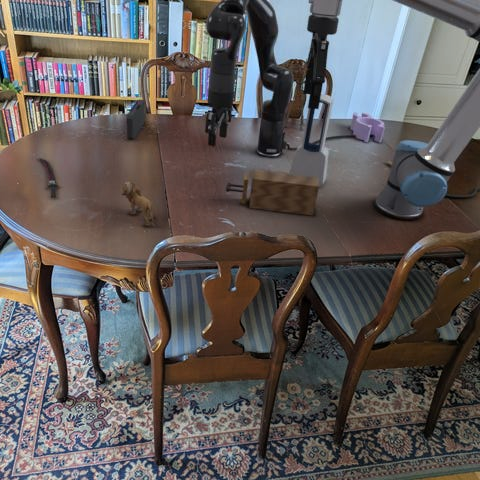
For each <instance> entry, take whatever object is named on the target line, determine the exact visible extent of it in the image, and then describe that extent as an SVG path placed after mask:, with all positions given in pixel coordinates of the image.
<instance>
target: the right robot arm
mask: <svg viewBox="0 0 480 480" xmlns="http://www.w3.org/2000/svg"><path fill="white" fill-rule="evenodd" d="M392 1H393V2H395V3H398V4H400V5H403V6H405V7H407V8H410V9H412V10H414V11H417V12H419V13H421V14H424V15H426V16H429V17H431V18H434V19H436V20H439V21H440V22H441V21H442V22H444V23H446V24H448V25H451V26H453V27H456V28H458V29H461V30H463V31H464V33H465V36H466V37H468V38H470V39H473V40H475V41H477V42H478V43H480V0H392ZM308 4H310V6H309V13H310V14H309V16H308V18H307V19H308V20H307V26H306V30H307V32H308V33H311V35H312V37H311V40H310V47H309V52H308V56H307V65H306V71H305V77H304V81H305V84H303V95H309V98H308V104H307V109H308V108H311V109H315V110H319V108H320V97H321V94H322V90H323V85H324V83H325V82H326V73H327V72H326V71H327V62H328V53H329V46H330V41H329V40H328V36H330V35H331V36H333V35H336V34H337V32H338V26H339V21H340V19H339V16H340V15H341V12H342V11H341V10H342V6H343V0H308ZM479 129H480V68H479V69H478V70H477V72H476V73H475V75H474V76H473V77H472V79H471V80H470V82H469V83H468V85H467V87H466V88H465V89H464V91H463V92H462V94H461V95H460V96H459V98H458V100H457V101H456V103H455V104H454V105H453V107H452V108H451V110H450V111H449V113H448V115H446V117H445V119H444V120H443V122H442V123H441V125H440V126H439V128H438V129H437V131H436V132H435V133H434V135H433V136H432V138H431V140H430V141H429V142H428V143H427V142H423V141H418V140H409V139H408V140H401V141H399V142H398V144H397V147H396V149H395V152H394V156H393V160H392V166H390V170H389V174H388V177H387V180H386V184H384V186H383V188H381V189H380V191H379V194H378V195H377V197H376V199H375V202H374V207H375V208H376V209H377V210H378V211H379V212H380V213H381V214H383V215H385V216H386V217H390V218H393V219H396V220H401V221H414V220H417V219H419V218H421V217H422V215H423V212H424V208H426V207H429V206H430V207H431V206H434V205H436V204H438V203H439V202H440V201H442V200H443V199H444V198H445V197H446V198H451V199H468V198H469V199H470V198H472V197H474V196H475V195H476V194H477V192H478V191H479V187H478V186H476V187H475V188H474V189H473V192H472V193H470V194H463V195H462V194H449V193H447V191H448V181H449V180H450V178H451V177H452V176H453V174H454V173H455V171H456V166H455V162H456V160H457V159H458V158H459V156H460V155H461V154H462V152H463V151H464V150H465V148H466V147H467V146H468V144H469V143H470V142H471V140H472V138H473V137H474V136H475V134H476V133H477V132H478V130H479Z"/></svg>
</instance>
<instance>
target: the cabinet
mask: <svg viewBox="0 0 480 480" xmlns="http://www.w3.org/2000/svg"><path fill="white" fill-rule="evenodd" d="M252 177H253V180H252V179H251V185H252V189H251V188H250V193H251V198H250V197H249V202H250V203H249V209H255V210H256V209H257V210H264V211H272V212H280V213H289V214H298V215H306V216H314V213H315V207H316V202H317V198H318V193H319V188H320V187H319V183H318V178H316V177H307V176H299V175H290V174H289V173H281V172H274V171H273V172H272V171H265V170H256V169H254V170H253V173H252Z"/></svg>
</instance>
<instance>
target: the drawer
mask: <svg viewBox="0 0 480 480" xmlns="http://www.w3.org/2000/svg"><path fill="white" fill-rule="evenodd" d="M249 177H250V173H249V172H245V173H244V178H243V184H235V183H231V182H227V184H226V188H225V191H226V192H227V193H230V192H234V193H235V192H236V193H241V194H242V196H241V204H243V205H246V203H247V202H246V201H247V196H248V195H247V194H248V185H249ZM252 180H253V176H252V178H251V181H252ZM250 185H251V186H250V190H251V189H252V184H250ZM231 187H234V188H231ZM237 188H238V189H237ZM239 188H242V189H239ZM250 198H251V192H250V195H249V199H250ZM248 202H249V204H250V201H248Z"/></svg>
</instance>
